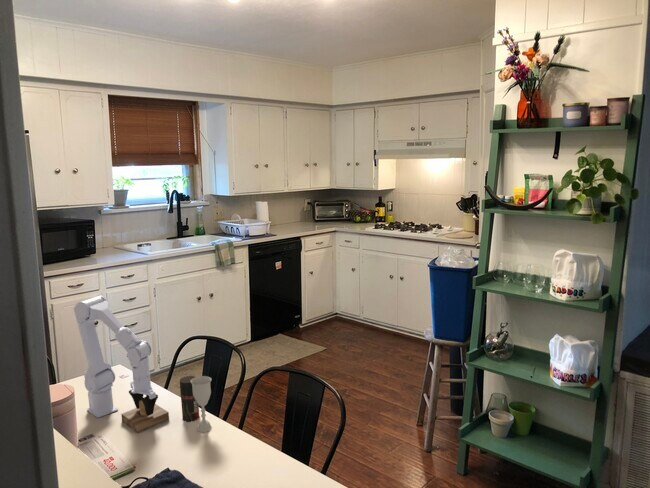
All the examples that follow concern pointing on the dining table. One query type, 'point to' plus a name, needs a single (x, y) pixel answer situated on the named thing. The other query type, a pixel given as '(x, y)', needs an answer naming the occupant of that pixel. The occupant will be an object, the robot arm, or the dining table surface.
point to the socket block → (144, 418)
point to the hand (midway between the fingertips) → (144, 411)
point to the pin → (142, 409)
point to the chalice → (202, 398)
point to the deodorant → (188, 400)
